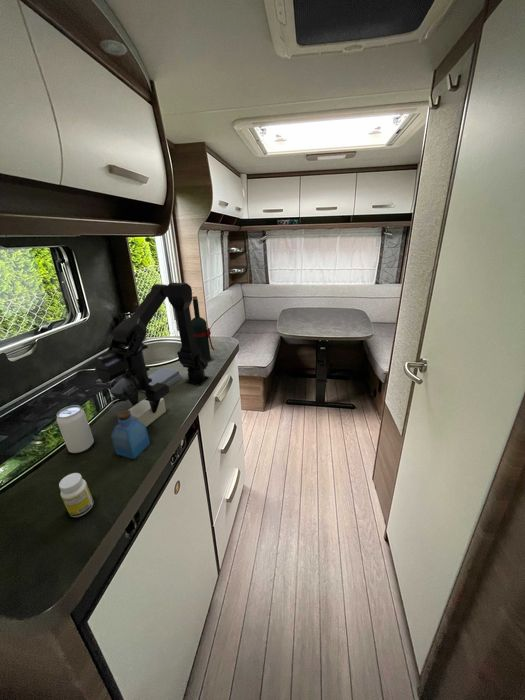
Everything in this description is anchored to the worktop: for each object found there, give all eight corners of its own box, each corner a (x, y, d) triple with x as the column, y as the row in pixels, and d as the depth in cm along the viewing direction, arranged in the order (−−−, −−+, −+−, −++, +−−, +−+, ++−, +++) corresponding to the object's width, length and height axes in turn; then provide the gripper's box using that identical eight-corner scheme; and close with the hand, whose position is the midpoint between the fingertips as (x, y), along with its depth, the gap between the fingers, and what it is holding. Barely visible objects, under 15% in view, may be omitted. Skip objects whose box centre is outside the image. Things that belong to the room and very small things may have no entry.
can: (82, 455, 76) (69, 419, 71) (62, 452, 77) (48, 417, 73) (99, 439, 82) (88, 405, 77) (80, 436, 83) (68, 403, 78)
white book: (151, 399, 95) (150, 394, 94) (164, 403, 93) (163, 398, 92) (124, 418, 86) (123, 413, 85) (139, 422, 84) (137, 417, 83)
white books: (152, 407, 96) (151, 399, 95) (166, 411, 94) (164, 403, 93) (126, 426, 87) (124, 418, 86) (141, 430, 85) (139, 423, 84)
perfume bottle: (150, 443, 80) (141, 408, 75) (134, 459, 74) (124, 422, 70) (132, 439, 82) (123, 405, 77) (116, 454, 76) (105, 418, 71)
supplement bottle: (76, 499, 63) (65, 471, 60) (97, 497, 64) (87, 470, 60) (64, 519, 59) (51, 490, 56) (87, 517, 59) (75, 488, 56)
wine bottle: (213, 363, 128) (206, 298, 116) (191, 362, 128) (182, 298, 117) (217, 356, 135) (211, 294, 123) (197, 355, 136) (188, 294, 124)
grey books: (164, 374, 119) (163, 366, 117) (181, 378, 115) (179, 370, 114) (138, 390, 107) (137, 382, 106) (156, 395, 104) (154, 386, 102)
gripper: (89, 373, 80) (103, 417, 86) (136, 385, 73) (148, 432, 79) (121, 357, 89) (132, 398, 96) (166, 367, 82) (174, 411, 88)
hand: (145, 409), depth 89 cm, fingers open, 8 cm apart
